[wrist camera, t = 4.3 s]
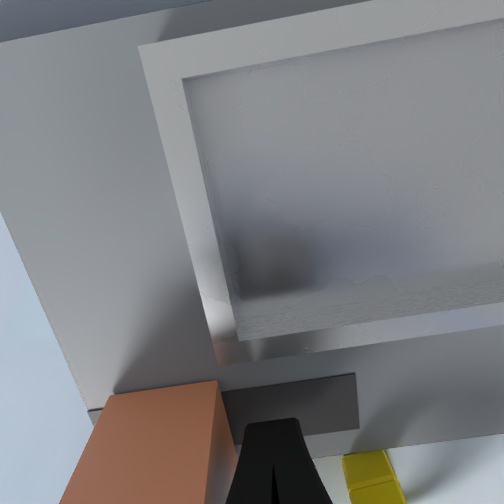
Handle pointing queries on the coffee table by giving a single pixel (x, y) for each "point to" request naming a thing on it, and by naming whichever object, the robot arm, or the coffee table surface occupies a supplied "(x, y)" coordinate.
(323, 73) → the tray
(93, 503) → the toggle
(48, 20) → the coffee table surface
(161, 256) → the panel
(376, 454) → the watch
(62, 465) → the coffee table surface
